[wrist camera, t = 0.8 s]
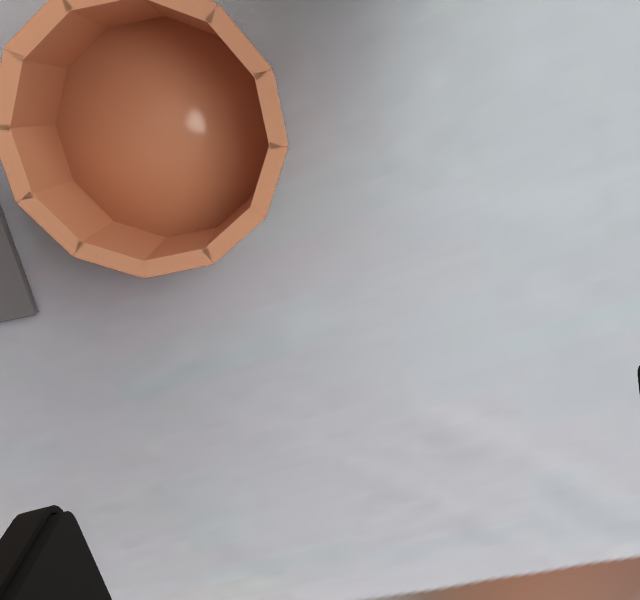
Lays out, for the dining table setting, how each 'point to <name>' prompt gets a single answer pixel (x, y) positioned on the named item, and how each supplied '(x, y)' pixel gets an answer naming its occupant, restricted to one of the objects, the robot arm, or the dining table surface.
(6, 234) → the mat
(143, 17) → the bowl
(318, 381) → the dining table surface
